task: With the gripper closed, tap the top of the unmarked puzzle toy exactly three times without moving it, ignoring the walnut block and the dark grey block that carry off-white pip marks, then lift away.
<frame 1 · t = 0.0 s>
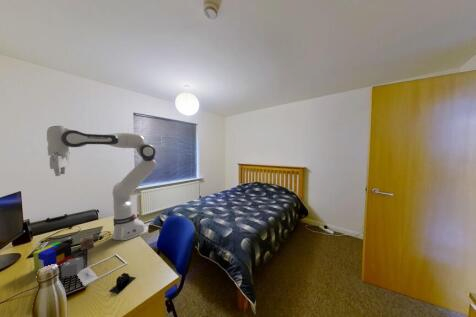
hand: (60, 174, 101), 48 cm above the table, tool pointing down, fingers open, 8 cm apart
build plate: (123, 285, 77), on the table
grey block: (73, 272, 85), on the table
puzzle toy: (54, 265, 90), on the table
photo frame: (102, 269, 87), on the table
walnut block: (87, 247, 107), on the table
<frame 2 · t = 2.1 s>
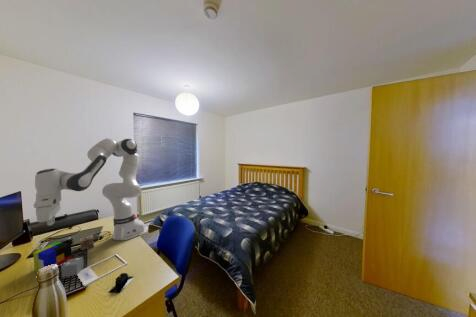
hand: (51, 224, 89), 23 cm above the table, tool pointing down, fingers closed
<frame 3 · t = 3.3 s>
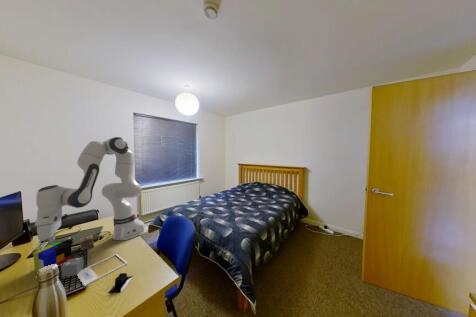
hand: (52, 240, 89), 14 cm above the table, tool pointing down, fingers closed
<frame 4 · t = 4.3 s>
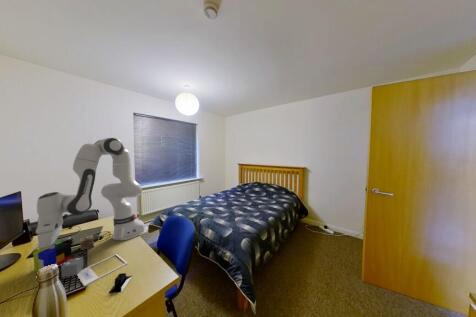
hand: (52, 247, 90), 10 cm above the table, tool pointing down, fingers closed, pressing on puzzle toy
puzzle toy: (54, 265, 90), on the table, touching gripper
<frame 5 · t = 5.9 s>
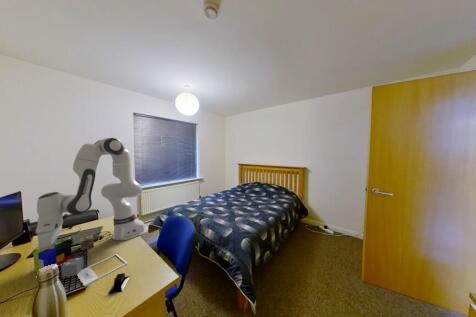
hand: (52, 247, 90), 10 cm above the table, tool pointing down, fingers closed
puzzle toy: (54, 265, 90), on the table
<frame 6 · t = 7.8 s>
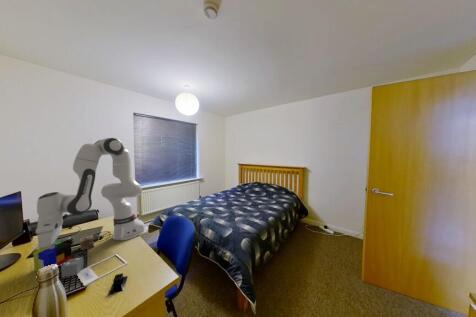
hand: (52, 247, 90), 10 cm above the table, tool pointing down, fingers closed
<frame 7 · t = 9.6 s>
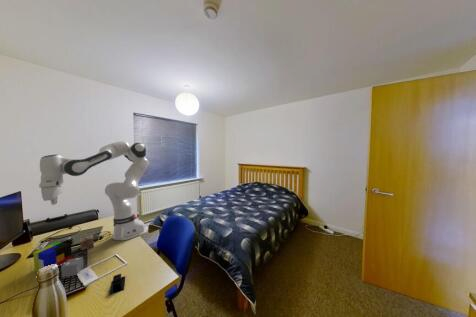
hand: (54, 204, 100), 30 cm above the table, tool pointing down, fingers closed
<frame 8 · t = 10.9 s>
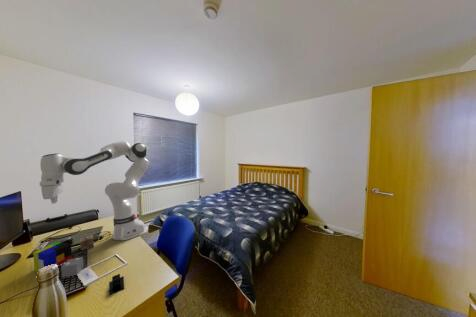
hand: (54, 202, 100), 31 cm above the table, tool pointing down, fingers closed
at the end: puzzle toy moved 0.3 cm from its start; puzzle toy tilted 0°; grey block moved 0.1 cm from its start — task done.
